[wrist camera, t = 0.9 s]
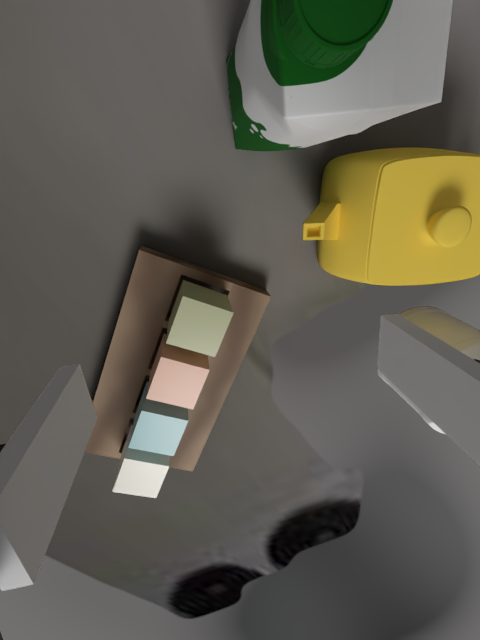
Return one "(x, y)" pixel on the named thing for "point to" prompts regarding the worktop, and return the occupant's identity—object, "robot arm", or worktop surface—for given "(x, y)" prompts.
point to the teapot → (399, 216)
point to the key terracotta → (177, 375)
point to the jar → (445, 329)
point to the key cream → (140, 471)
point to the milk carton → (333, 68)
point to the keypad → (143, 343)
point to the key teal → (158, 426)
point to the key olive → (199, 319)
